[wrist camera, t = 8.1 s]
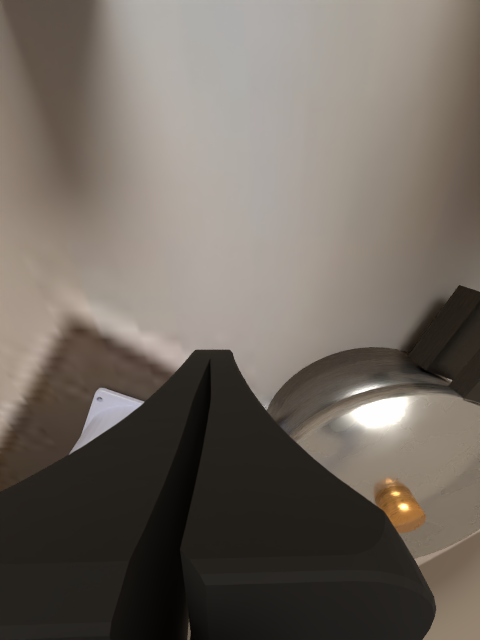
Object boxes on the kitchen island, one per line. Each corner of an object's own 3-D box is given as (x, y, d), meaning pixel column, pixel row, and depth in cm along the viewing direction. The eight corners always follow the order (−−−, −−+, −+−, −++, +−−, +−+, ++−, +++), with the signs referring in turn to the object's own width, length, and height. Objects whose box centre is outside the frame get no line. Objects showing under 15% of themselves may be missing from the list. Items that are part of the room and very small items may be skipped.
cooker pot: (380, 501, 29) (407, 556, 25) (235, 467, 26) (236, 521, 22) (543, 322, 21) (631, 354, 16) (356, 242, 18) (399, 253, 13)
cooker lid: (410, 563, 25) (431, 604, 22) (230, 527, 22) (230, 570, 19) (648, 354, 16) (728, 382, 13) (402, 243, 13) (444, 252, 10)
